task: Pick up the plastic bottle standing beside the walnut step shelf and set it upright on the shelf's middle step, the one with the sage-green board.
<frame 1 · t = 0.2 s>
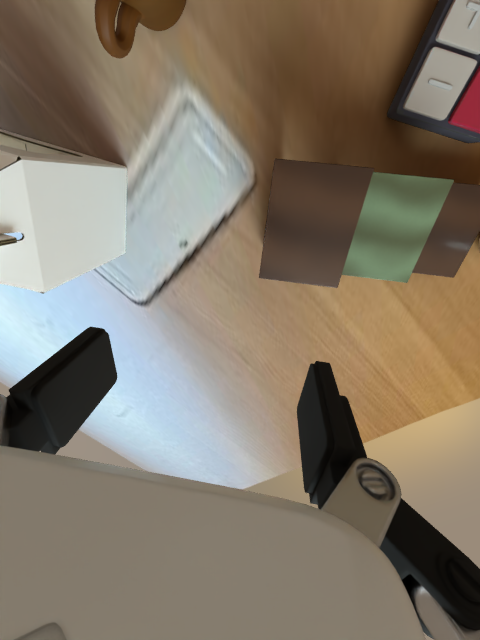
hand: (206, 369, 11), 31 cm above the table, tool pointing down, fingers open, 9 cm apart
gable box: (61, 194, 39), on the table
mug: (153, 13, 28), on the table
calculator: (471, 46, 26), on the table
shelf: (360, 220, 35), on the table
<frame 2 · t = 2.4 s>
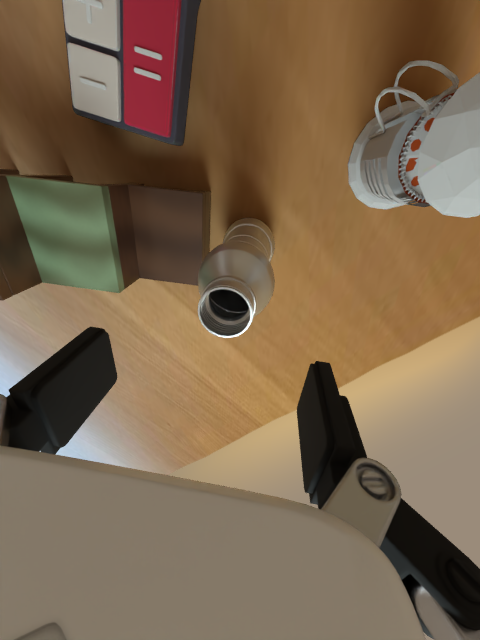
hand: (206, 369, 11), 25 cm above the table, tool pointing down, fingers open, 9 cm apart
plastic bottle: (250, 241, 33), on the table
calculator: (141, 42, 24), on the table
shelf: (115, 225, 34), on the table
french press: (390, 153, 26), on the table
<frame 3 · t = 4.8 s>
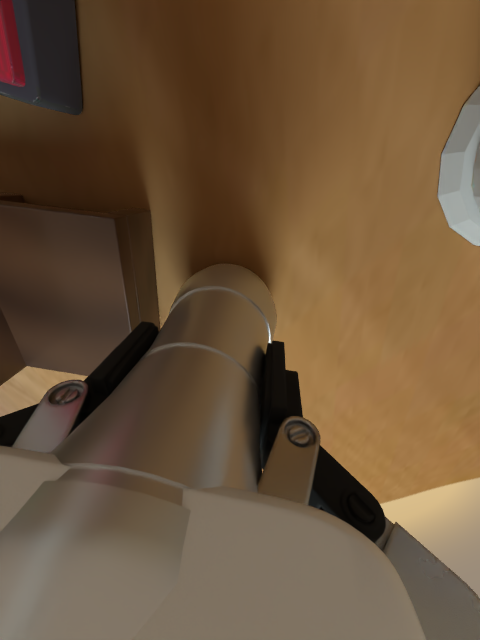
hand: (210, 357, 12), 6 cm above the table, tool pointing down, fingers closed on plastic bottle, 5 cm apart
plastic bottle: (231, 300, 18), on the table, touching gripper
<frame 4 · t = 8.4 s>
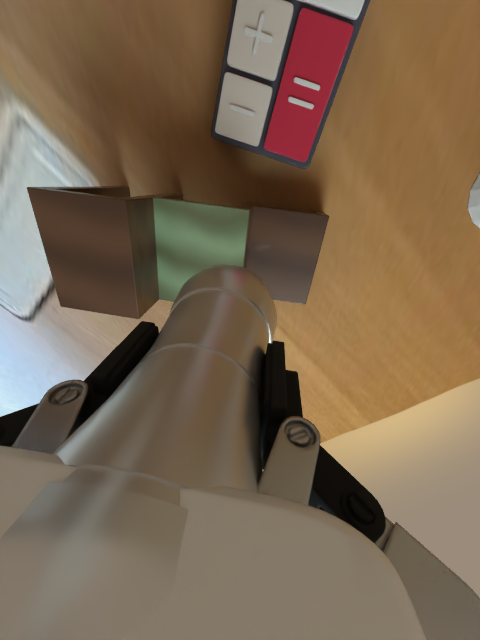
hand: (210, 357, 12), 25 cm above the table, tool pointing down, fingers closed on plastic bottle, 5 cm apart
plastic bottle: (231, 301, 18), point 18 cm above the table, touching gripper
calculator: (284, 71, 25), on the table
shelf: (216, 242, 34), on the table
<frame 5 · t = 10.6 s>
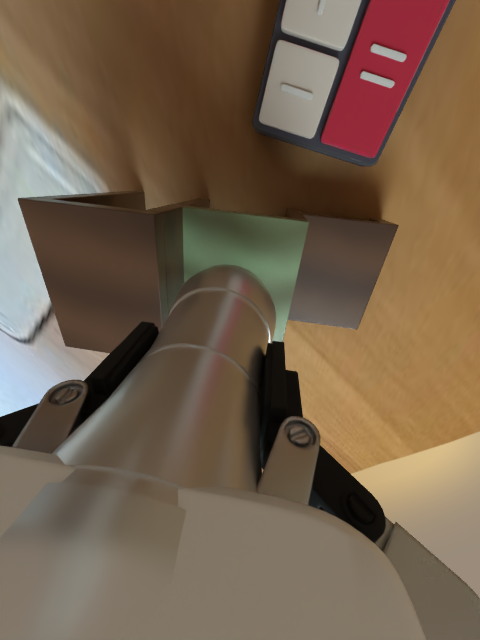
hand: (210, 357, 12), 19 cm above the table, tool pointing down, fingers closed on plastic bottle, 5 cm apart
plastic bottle: (231, 301, 18), point 13 cm above the table, touching gripper
calculator: (346, 40, 19), on the table
shelf: (248, 256, 29), on the table
when the fingers open (15 cm above the table, at t = 12.1 s): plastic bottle stays where it is, resting on shelf.
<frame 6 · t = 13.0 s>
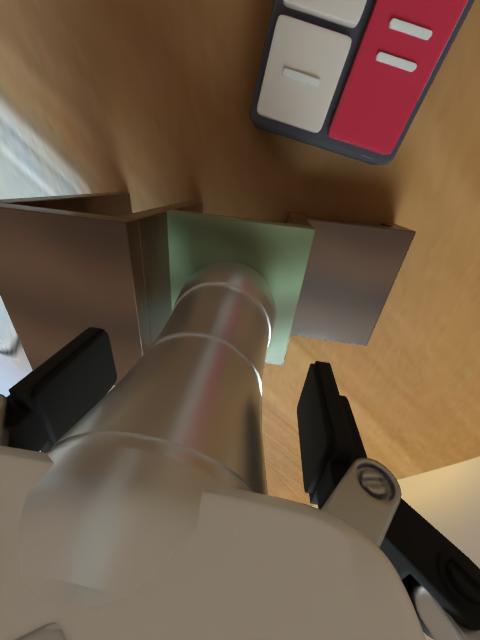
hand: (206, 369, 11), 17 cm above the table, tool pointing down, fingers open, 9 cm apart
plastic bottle: (232, 297, 18), point 9 cm above the table, touching shelf
calculator: (358, 18, 17), on the table
shelf: (245, 263, 26), on the table
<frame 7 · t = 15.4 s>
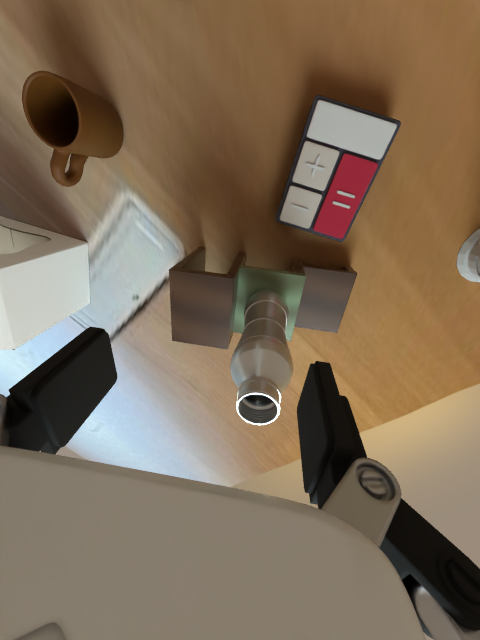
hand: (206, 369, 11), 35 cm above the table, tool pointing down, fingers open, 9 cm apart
gable box: (38, 258, 49), on the table
mug: (101, 146, 38), on the table
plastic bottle: (266, 305, 38), point 9 cm above the table, touching shelf
calculator: (326, 177, 36), on the table
shelf: (268, 286, 45), on the table
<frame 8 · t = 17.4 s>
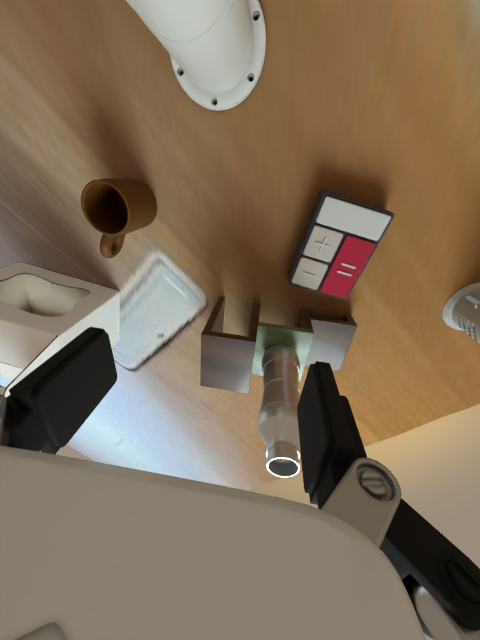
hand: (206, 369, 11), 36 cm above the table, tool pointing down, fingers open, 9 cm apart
gable box: (74, 302, 55), on the table
mug: (136, 216, 44), on the table
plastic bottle: (280, 354, 44), point 9 cm above the table, touching shelf
calculator: (332, 246, 43), on the table
shelf: (279, 329, 52), on the table
french press: (470, 303, 44), on the table
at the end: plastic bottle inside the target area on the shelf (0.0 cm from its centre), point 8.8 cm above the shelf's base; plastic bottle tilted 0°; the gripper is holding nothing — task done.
